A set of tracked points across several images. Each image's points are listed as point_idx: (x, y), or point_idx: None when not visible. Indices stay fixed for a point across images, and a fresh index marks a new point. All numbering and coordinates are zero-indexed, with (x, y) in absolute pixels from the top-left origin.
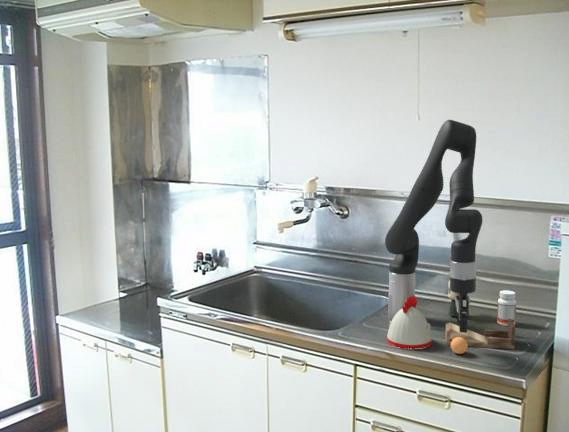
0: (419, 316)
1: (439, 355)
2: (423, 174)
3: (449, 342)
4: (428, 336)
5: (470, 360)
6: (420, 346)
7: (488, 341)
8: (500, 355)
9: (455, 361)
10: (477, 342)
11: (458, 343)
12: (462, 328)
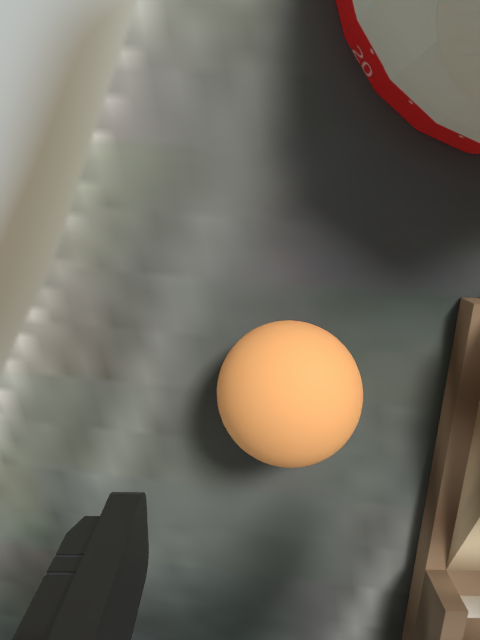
0: None
1: (215, 213)
2: None
3: (469, 316)
4: (474, 107)
5: (151, 426)
6: (355, 33)
7: (434, 593)
8: (276, 600)
9: (108, 326)
10: (458, 516)
11: (228, 398)
12: (60, 562)
